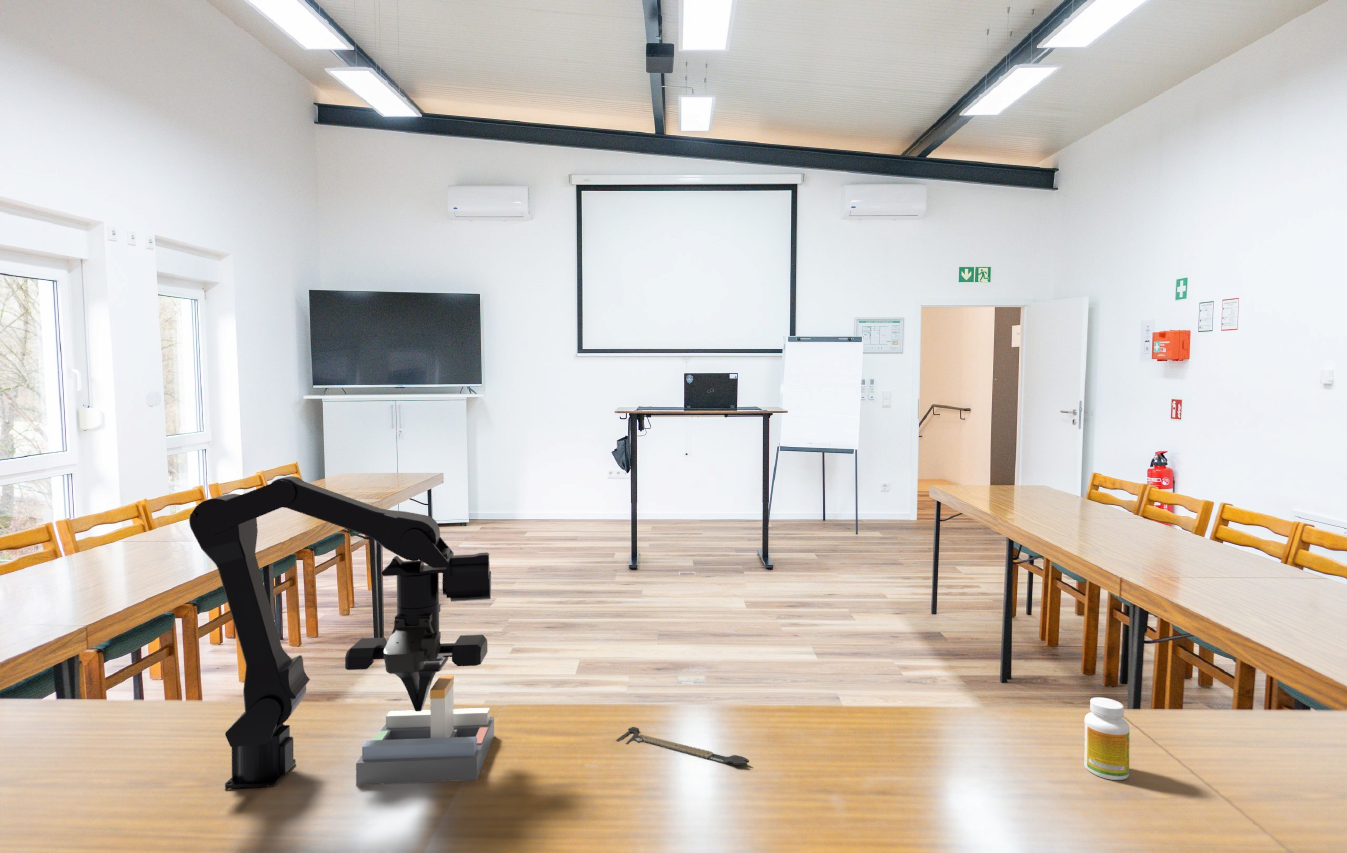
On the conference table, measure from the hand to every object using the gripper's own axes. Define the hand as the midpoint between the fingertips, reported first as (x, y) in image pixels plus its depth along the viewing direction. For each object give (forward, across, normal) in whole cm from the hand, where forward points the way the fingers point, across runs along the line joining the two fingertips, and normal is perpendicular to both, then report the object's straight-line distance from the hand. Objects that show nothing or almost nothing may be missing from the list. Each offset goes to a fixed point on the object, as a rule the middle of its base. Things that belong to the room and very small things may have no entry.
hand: (419, 710), depth 99 cm
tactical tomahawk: (+8, +38, -1) cm, 39 cm away
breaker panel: (+7, +2, 0) cm, 7 cm away
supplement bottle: (+8, +98, -11) cm, 98 cm away
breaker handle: (+5, +3, 0) cm, 6 cm away
